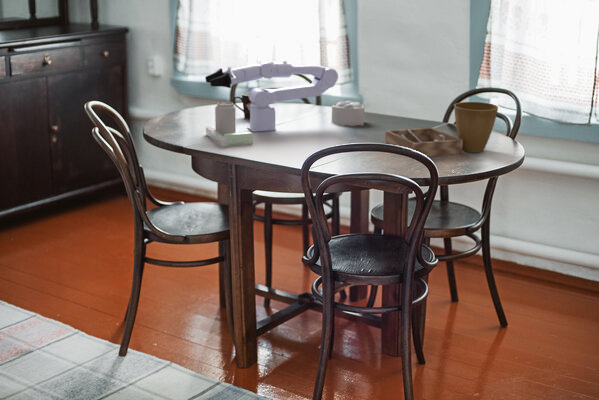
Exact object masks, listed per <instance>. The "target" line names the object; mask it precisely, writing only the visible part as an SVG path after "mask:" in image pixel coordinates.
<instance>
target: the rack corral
mask: <svg viewBox="0 0 599 400" xmlns="http://www.w3.org/2000/svg"><path fill="white" fill-rule="evenodd" d="M408 130H411V131H412V133H413V134H414V135H415V136H416V137H417V138H418V139H419V140H420V141H421V142H419V141H418V140H417V139H416V138H415V137H414V136H413V135H412V134H411V133H409V132H408ZM402 135H404V136H405V137H406V138H403V137H402ZM439 135H443V136H444V137H445V141H443V137H440V136H439ZM384 136H385V137H384V144H385V143H386V144H393V145H399V146H404V147H408V148H411V149H413V150H416V151H419V152H421V153H423V154H425V155H427V156H428V157H427V158H432V157H433V156H434V157H442V156H441V155H445V156H451V155H450V154H457V155H462V154H463V150H462V146H463V140H462V139H459V137H457V136H454V135H451V134H449V133H446V132H444V131H442V130H439V129H436V128H433V127H423V128H408V129H394V130H385V135H384ZM434 140H438V141H434ZM461 153H462V154H461ZM429 156H430V157H429Z"/></svg>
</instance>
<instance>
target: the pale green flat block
mask: <svg viewBox="0 0 599 400" xmlns="http://www.w3.org/2000/svg"><path fill="white" fill-rule="evenodd" d="M205 134H206V136H207V137H208V138H209V139H211V140H212V141H213V142H214V143H215V144H217V145H218V146H219V147H220V148H221V149H222V148H223V149H224V148H225V149H226V148H228V147H232V146H233V147H234V146H235V147H236V146H246V145H249V146H250V145H253V143H254V138H253V136H254V135H253V131H248V132H246V131H245V132H236V133H230V134H224V136H223V135H221V134H220V133H219V132H218V131H216V128H214V127H213V126H206V127H205Z"/></svg>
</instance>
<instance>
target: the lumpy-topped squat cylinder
mask: <svg viewBox="0 0 599 400" xmlns="http://www.w3.org/2000/svg"><path fill="white" fill-rule="evenodd" d="M364 116H365V105H364V104H362V103H361V102H358V101H352V100H347V101H338V102H337V103H335V104H333V105H332V106H331V124H332V123H334V124H333V125H335V124H337V125H336V126H342V125H350V126H349V127H357V126H356V125H362V126H364V120H365V119H364V118H365V117H364ZM353 125H354V126H353Z"/></svg>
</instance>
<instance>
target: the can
mask: <svg viewBox="0 0 599 400" xmlns="http://www.w3.org/2000/svg"><path fill="white" fill-rule="evenodd" d="M214 110H215V112H214V113H215V114H214V115H215V117H214V118H215V124H214V125H215V130H216V131H218V132H219V133H220V134H221V135H223V136H224V134H230V133H237V132H236V131H237V130H236V128H237V127H236V126H237V124H236V106H235V105H234V103H233V102H229V101H223V102H217V103H216V106H215V108H214Z"/></svg>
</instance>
